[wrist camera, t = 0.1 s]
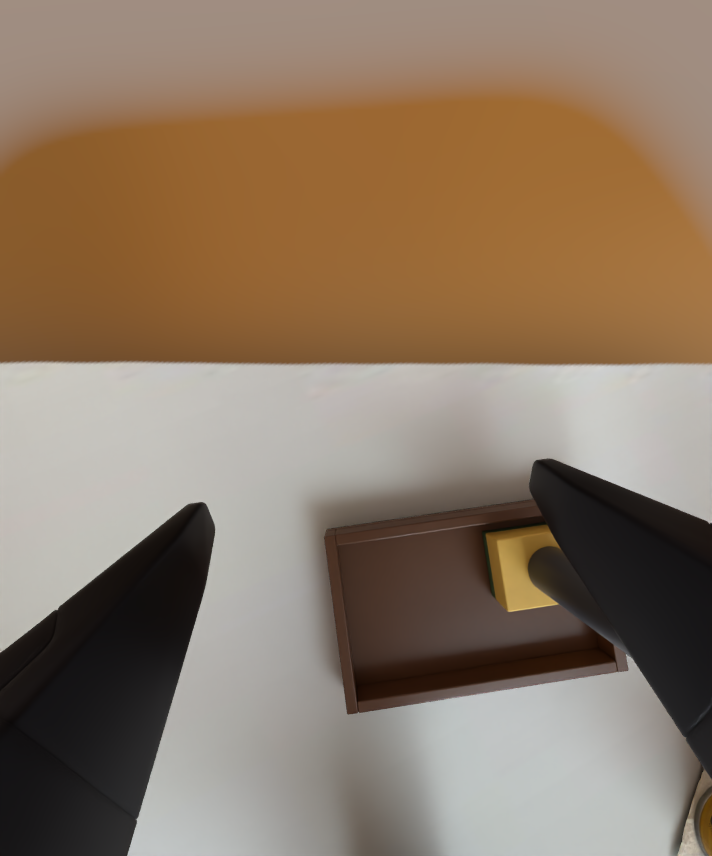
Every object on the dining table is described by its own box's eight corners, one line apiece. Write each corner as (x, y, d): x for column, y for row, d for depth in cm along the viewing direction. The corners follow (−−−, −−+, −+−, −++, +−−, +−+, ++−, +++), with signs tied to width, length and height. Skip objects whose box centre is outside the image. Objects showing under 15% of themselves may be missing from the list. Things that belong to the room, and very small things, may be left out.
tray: (576, 492, 24) (597, 497, 22) (604, 651, 24) (628, 670, 21) (326, 528, 24) (324, 536, 22) (347, 691, 23) (347, 715, 21)
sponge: (566, 518, 24) (775, 585, 12) (577, 582, 23) (802, 714, 12) (481, 530, 23) (610, 610, 12) (491, 595, 23) (633, 742, 12)
